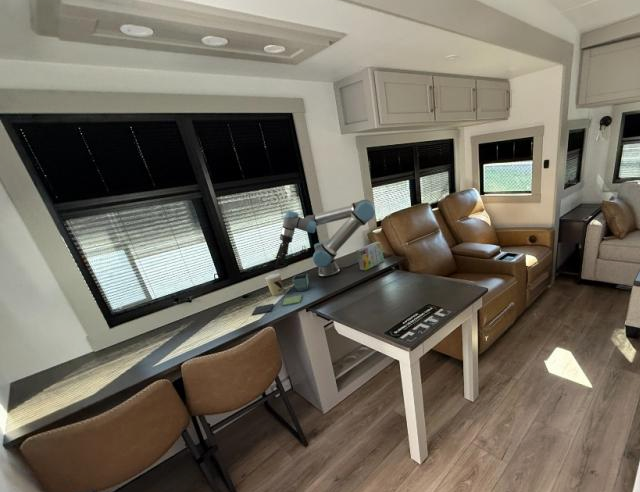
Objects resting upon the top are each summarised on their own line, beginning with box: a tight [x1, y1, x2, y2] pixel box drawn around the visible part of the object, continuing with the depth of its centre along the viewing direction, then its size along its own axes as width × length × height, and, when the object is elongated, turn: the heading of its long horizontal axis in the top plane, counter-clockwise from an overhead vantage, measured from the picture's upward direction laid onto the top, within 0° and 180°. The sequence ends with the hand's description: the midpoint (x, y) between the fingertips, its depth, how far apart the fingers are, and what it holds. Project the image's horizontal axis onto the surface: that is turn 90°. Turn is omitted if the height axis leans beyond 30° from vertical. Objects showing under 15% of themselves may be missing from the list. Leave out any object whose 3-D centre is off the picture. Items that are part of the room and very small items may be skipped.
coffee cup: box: [264, 273, 285, 296], centre depth 203 cm, size 9×9×12 cm
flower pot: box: [291, 273, 310, 292], centre depth 203 cm, size 9×9×9 cm
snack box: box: [355, 241, 385, 272], centre depth 228 cm, size 21×6×15 cm, turn 141°
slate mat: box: [251, 303, 275, 316], centre depth 183 cm, size 10×10×1 cm
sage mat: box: [281, 294, 303, 307], centre depth 189 cm, size 10×10×1 cm
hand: (279, 265), depth 206 cm, fingers open, 13 cm apart
